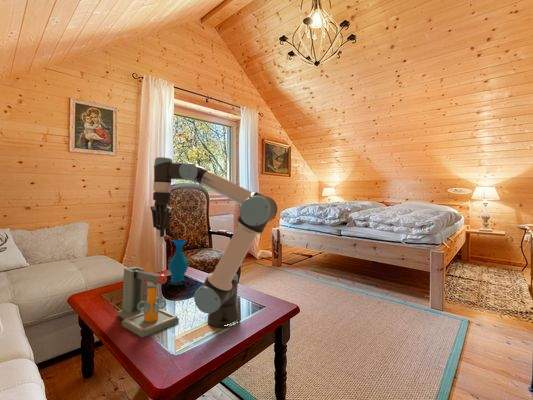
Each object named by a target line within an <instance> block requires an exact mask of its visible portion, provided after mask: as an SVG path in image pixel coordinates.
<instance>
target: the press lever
mask: <svg viewBox="0 0 533 400" xmlns="http://www.w3.org/2000/svg"><path fill="white" fill-rule="evenodd" d="M133 271H134V278H137V279H141V280H144V281H146V288H147V289H148V288H155V287H160V285H163V284H164V285H165V283H166V282H167V280H168V279H167V276H166V275H164V274H161V273H155V272H150V271H147V270H144V271H142V270H133Z"/></svg>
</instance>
